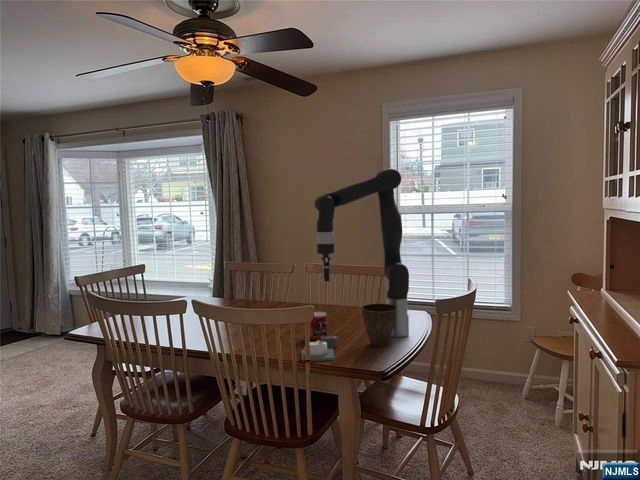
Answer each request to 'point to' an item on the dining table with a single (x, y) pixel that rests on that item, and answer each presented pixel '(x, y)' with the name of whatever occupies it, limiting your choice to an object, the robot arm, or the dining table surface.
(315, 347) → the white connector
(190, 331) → the dining table surface
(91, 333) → the dining table surface
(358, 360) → the dining table surface
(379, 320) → the plant pot
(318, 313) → the canned food
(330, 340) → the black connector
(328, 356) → the felt pad
